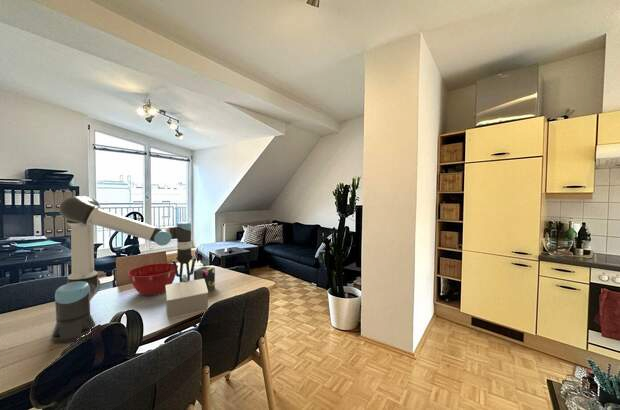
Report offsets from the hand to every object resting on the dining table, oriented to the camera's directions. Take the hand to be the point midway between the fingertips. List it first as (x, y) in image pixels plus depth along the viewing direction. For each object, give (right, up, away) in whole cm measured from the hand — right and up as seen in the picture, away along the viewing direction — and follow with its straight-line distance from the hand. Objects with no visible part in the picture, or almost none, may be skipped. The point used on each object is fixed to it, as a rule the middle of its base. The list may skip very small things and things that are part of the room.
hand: (184, 286), depth 152 cm
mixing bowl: (-29, -9, +17) cm, 35 cm away
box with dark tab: (+3, -2, -4) cm, 6 cm away
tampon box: (+3, -9, +21) cm, 23 cm away
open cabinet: (+5, -11, -7) cm, 14 cm away
